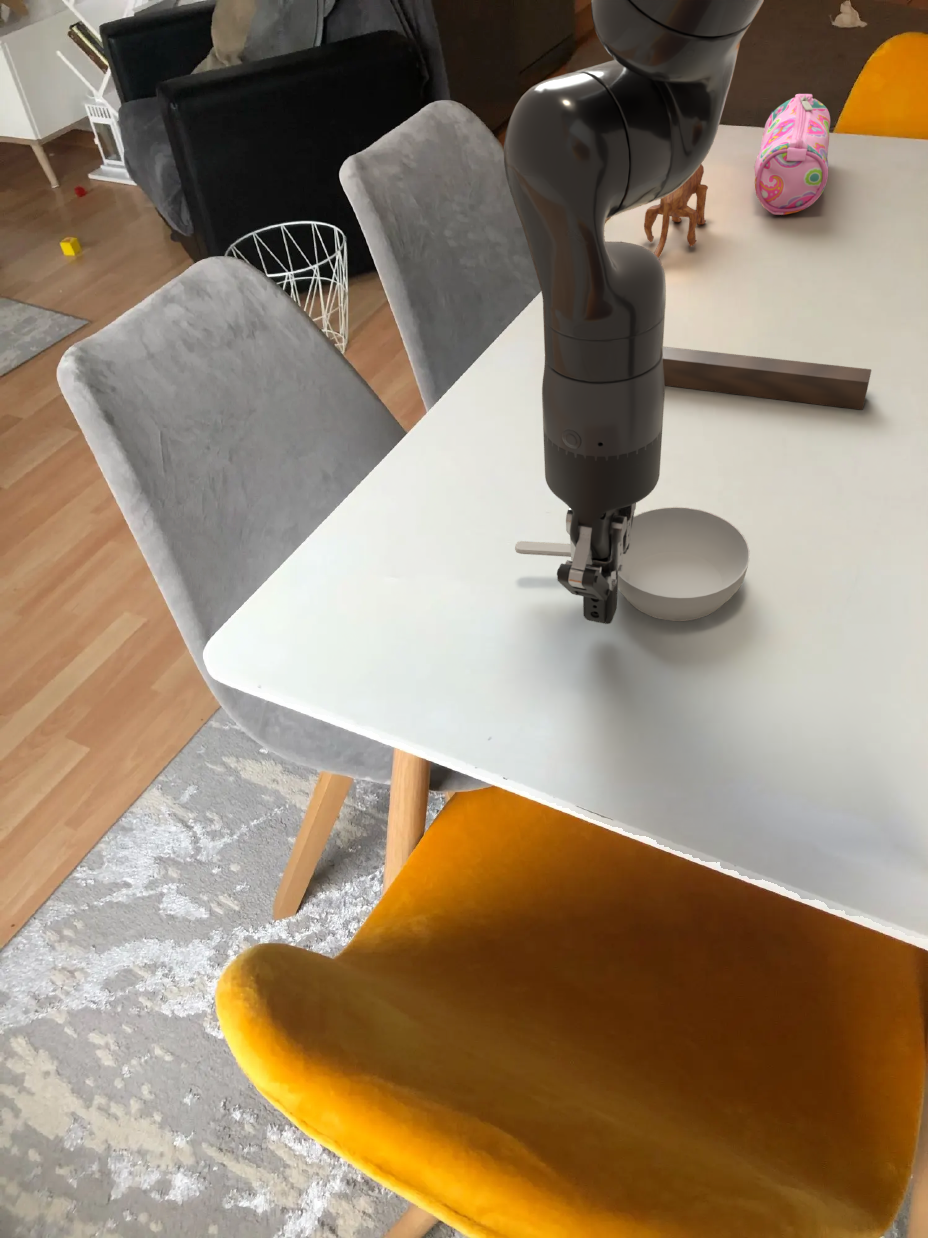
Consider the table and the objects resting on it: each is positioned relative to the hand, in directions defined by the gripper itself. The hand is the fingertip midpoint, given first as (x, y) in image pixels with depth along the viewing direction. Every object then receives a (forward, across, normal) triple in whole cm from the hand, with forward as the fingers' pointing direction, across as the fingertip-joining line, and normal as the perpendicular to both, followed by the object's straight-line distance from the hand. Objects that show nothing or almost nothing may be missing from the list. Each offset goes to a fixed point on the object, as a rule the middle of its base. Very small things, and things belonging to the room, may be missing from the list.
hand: (600, 615), depth 73 cm
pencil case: (+1, +88, -1) cm, 88 cm away
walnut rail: (+1, +36, -1) cm, 37 cm away
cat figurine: (+1, +68, +10) cm, 69 cm away
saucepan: (+2, +6, -1) cm, 6 cm away
